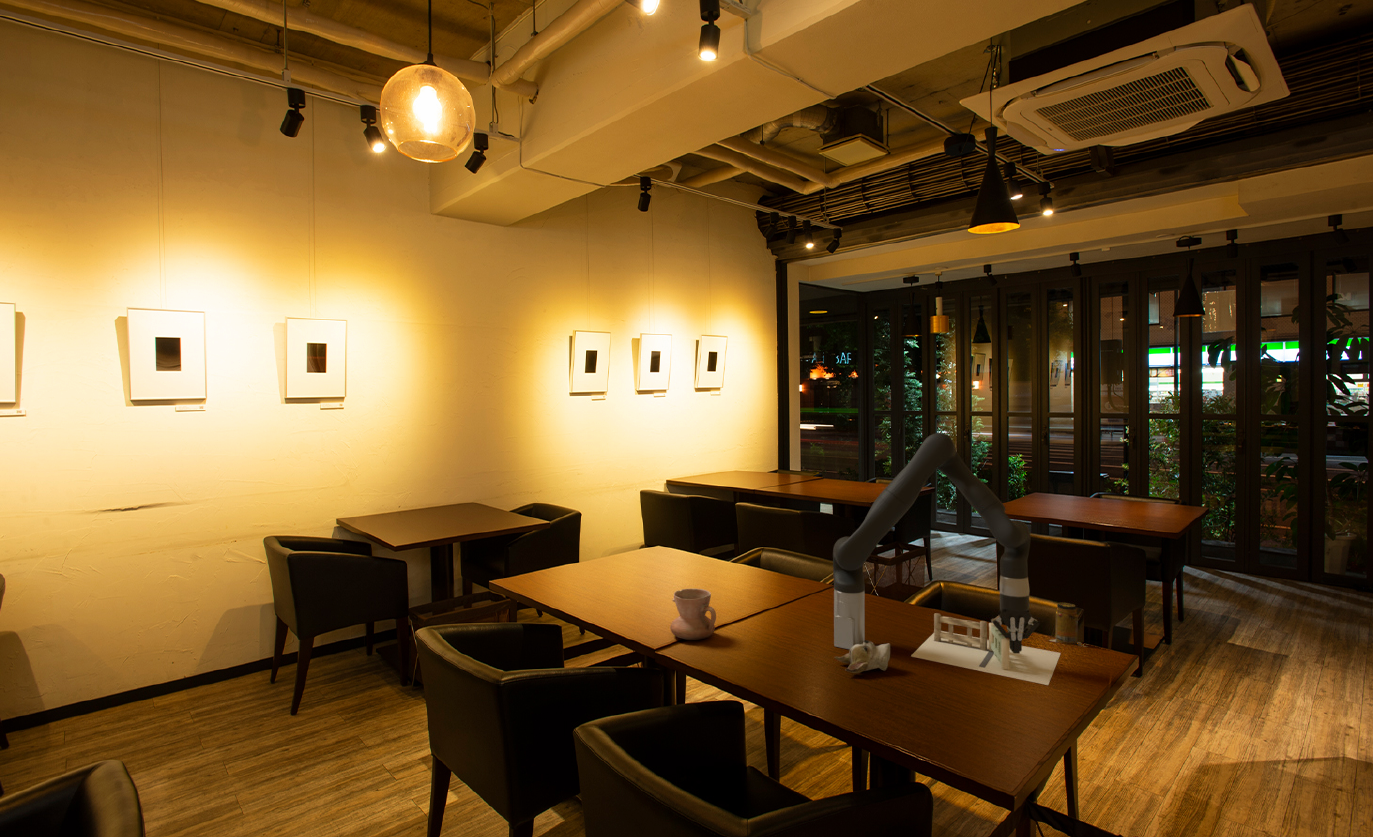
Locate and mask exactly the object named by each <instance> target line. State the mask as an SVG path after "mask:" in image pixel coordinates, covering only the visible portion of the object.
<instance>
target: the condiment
mask: <svg viewBox="0 0 1373 837" xmlns="http://www.w3.org/2000/svg"><path fill="white" fill-rule="evenodd" d="M1056 606H1057V608H1056V612H1055V639H1050V640H1049V639H1048V641H1050V642H1055V643H1061V644H1064V645H1071V646H1076V647H1082V646H1083V647H1082V648H1085V647H1087V646H1084V644H1086V645H1088V644H1087V643H1084V644H1083V645H1081V644H1082V643H1083V642H1080V641H1078V640H1079V638H1078V636H1079V635H1078V634H1079V633H1078V631H1079V630H1078V628H1079V617H1078V613H1077V605H1075V604H1073V603H1069V602H1059V603H1057V605H1056ZM1077 643H1078V644H1077Z"/></svg>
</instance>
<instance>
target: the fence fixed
mask: <svg viewBox="0 0 1373 837" xmlns="http://www.w3.org/2000/svg"><path fill="white" fill-rule="evenodd" d="M933 621H934V622H933V626H934V627H933V629H934V630H933V633H934V641H936V642H940V641H941V638H943V639H948V643H950V644H953V641H959V642H964V643H967V647H972V644H974V645H980V650H983V651H986V650H987V640H988V622H987V621H985V620H980V621H979V622H978V621H973V620H969V619H968V620H966V619H960V618H955V617H951V616H944V615H943V616H942V614H941V613H937V612H936V613H934V614H933ZM942 623H944V624H948V627H947V629H948V631H947V632H948V633H945V632H946V631H944V632H941V631H942ZM954 625H955V626H960V627H966V635H965V636H961V635H962V634H960V635H955V634H956V633H955V634H953V633H954ZM973 629H977V630H979V638H980V639H977V638H978V637H976V638H972V637H973ZM966 636H967V637H966Z"/></svg>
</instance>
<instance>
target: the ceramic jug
mask: <svg viewBox="0 0 1373 837" xmlns="http://www.w3.org/2000/svg"><path fill="white" fill-rule="evenodd" d="M673 592H674V593H673V598H672V600H671V601H672V602H673V603H675V606H676V609H677V611H678V614H679V615H678V616H677V617H676V618H674V619H673V620H672V621H671V622H670V625H669V628H670V631H671V634H672V635H674V636H675V637H677V638H679V639H683V640H687V641H697V640H699V641H700V640H702V639H706V638H709V637H710V636H711V635H713V634H714V632H715V628H716V627H715V626H716V625H715V624H716V620H717V613H716V610H715V608H714V607H712V606H711V605H710V603H711V598H712V597H711V596H712V595H711V594H712V593H711V592H710V591H709V590H706V589H703V588H683V589H680V590H679V589H678V590H676V591H673ZM708 611H709V613H710V618H709V617H708V616H707V615H706V614H707V612H708Z"/></svg>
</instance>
